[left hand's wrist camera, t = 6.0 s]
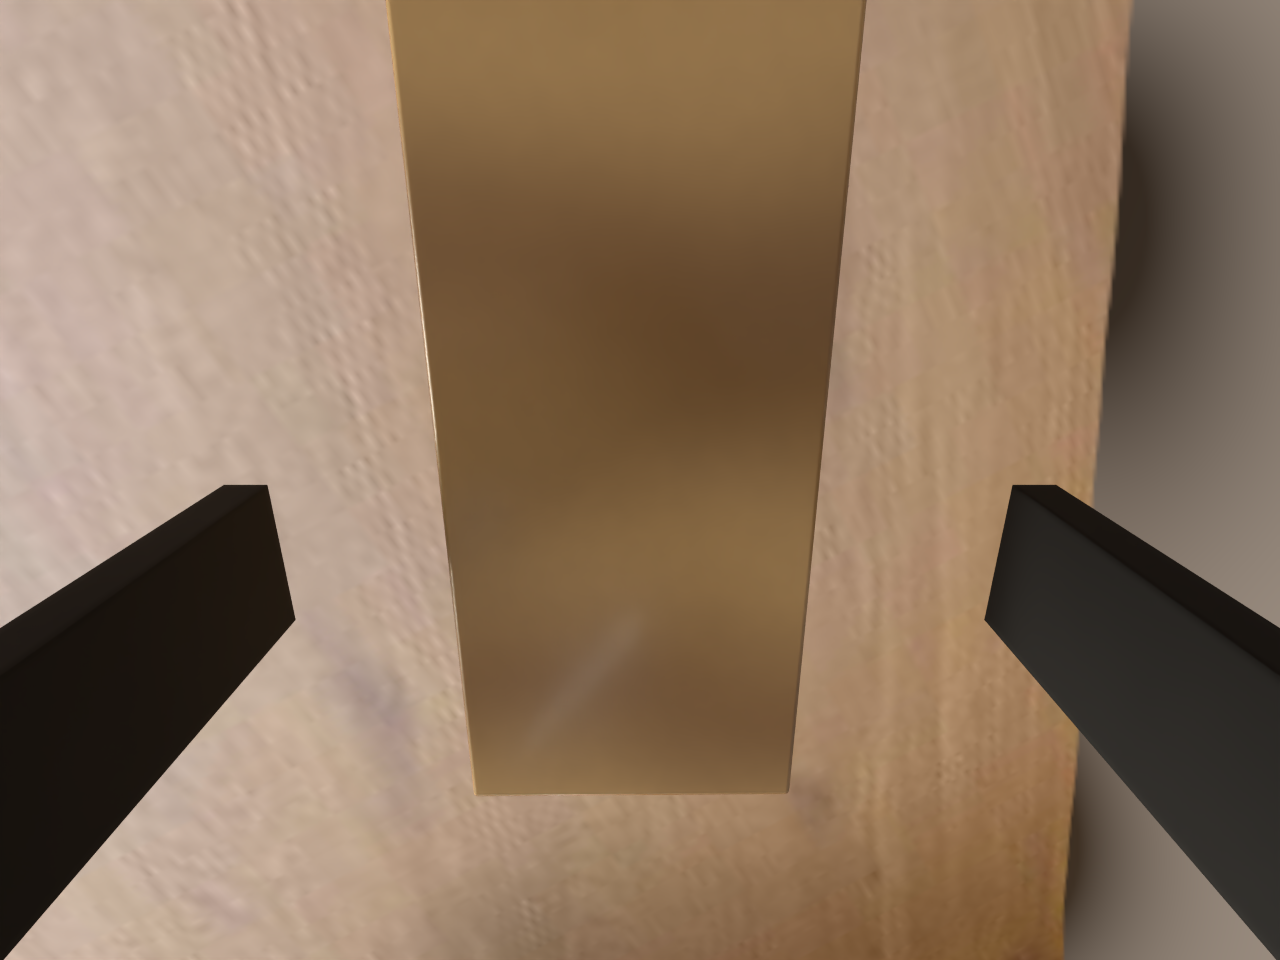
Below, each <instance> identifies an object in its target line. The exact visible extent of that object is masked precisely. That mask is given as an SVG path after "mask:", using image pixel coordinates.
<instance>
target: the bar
mask: <svg viewBox="0 0 1280 960" xmlns="http://www.w3.org/2000/svg"><path fill="white" fill-rule="evenodd" d="M386 9H387V18H388V27H389V35H390V44H391V53H392V62H393V71H394V80H395V89H396V98H397V107H398V116H399V125H400V134H401V143H402V152H403V161H404V170H405V179H406V188H407V197H408V206H409V215H410V224H411V233H412V242H413V251H414V260H415V268H416V277H417V286H418V295H419V304H420V313H421V322H422V331H423V340H424V349H425V358H426V367H427V376H428V385H429V394H430V403H431V412H432V421H433V430H434V439H435V448H436V457H437V466H438V475H439V484H440V493H441V501H442V510H443V519H444V528H445V537H446V546H447V555H448V564H449V573H450V582H451V591H452V600H453V609H454V618H455V627H456V636H457V645H458V654H459V663H460V672H461V681H462V690H463V699H464V708H465V717H466V726H467V735H468V743H469V752H470V761H471V770H472V779H473V788H474V794H475V795H476V796H563V795H696V794H786V793H788V791H789V785H790V775H791V765H792V755H793V745H794V734H795V724H796V714H797V704H798V694H799V683H800V673H801V663H802V653H803V643H804V632H805V622H806V612H807V602H808V591H809V581H810V571H811V561H812V551H813V540H814V530H815V520H816V510H817V500H818V489H819V479H820V469H821V459H822V449H823V438H824V428H825V418H826V408H827V397H828V387H829V377H830V367H831V357H832V346H833V336H834V326H835V316H836V306H837V295H838V285H839V275H840V265H841V255H842V244H843V234H844V224H845V214H846V203H847V193H848V183H849V173H850V163H851V152H852V142H853V132H854V122H855V112H856V101H857V91H858V81H859V71H860V61H861V50H862V40H863V30H864V20H865V9H866V0H386Z"/></svg>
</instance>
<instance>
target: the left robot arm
mask: <svg viewBox="0 0 1280 960" xmlns="http://www.w3.org/2000/svg"><path fill="white" fill-rule="evenodd" d="M294 621H295V615H294V610H293V605H292V601H291V596H290V591H289V586H288V581H287V577H286V572H285V567H284V562H283V557H282V553H281V548H280V543H279V538H278V533H277V529H276V524H275V519H274V514H273V510H272V505H271V500H270V495H269V490H268V486H267V485H223V486H222V487H220V488H218V489H217V490H215V491H214V492H212V493H211V494H209V495H207V496H206V497H204V498H203V499H201V500H200V501H198V502H197V503H195V504H193V505H192V506H190V507H189V508H187V509H186V510H184V511H182V512H181V513H179V514H178V515H176V516H175V517H173V518H172V519H170V520H168V521H167V522H165V523H164V524H162V525H161V526H159V527H157V528H156V529H154V530H153V531H151V532H150V533H148V534H147V535H145V536H143V537H142V538H140V539H139V540H137V541H136V542H134V543H132V544H131V545H129V546H128V547H126V548H125V549H123V550H122V551H120V552H118V553H117V554H115V555H114V556H112V557H111V558H109V559H107V560H106V561H104V562H103V563H101V564H100V565H98V566H97V567H95V568H93V569H92V570H90V571H89V572H87V573H86V574H84V575H82V576H81V577H79V578H78V579H76V580H75V581H73V582H72V583H70V584H68V585H67V586H65V587H64V588H62V589H61V590H59V591H57V592H56V593H54V594H53V595H51V596H50V597H48V598H46V599H45V600H43V601H42V602H40V603H39V604H37V605H36V606H34V607H32V608H31V609H29V610H28V611H26V612H25V613H23V614H21V615H20V616H18V617H17V618H15V619H14V620H12V621H11V622H9V623H7V624H6V625H4V626H3V627H1V628H0V960H4V959H5V957H6V956H7V955H8V954H9V953H10V952H11V950H12V949H13V948H14V947H15V946H16V945H17V944H18V942H19V941H20V940H21V939H22V938H23V937H24V935H25V934H26V933H27V932H28V931H29V930H30V928H31V927H32V926H33V925H34V924H35V923H36V921H37V920H38V919H39V918H40V917H41V916H42V914H43V913H44V912H45V911H46V910H47V909H48V907H49V906H50V905H51V904H52V903H53V902H54V900H55V899H56V898H57V897H58V896H59V895H60V893H61V892H62V891H63V890H64V889H65V888H66V886H67V885H68V884H69V883H70V882H71V881H72V879H73V878H74V877H75V876H76V875H77V874H78V872H79V871H80V870H81V869H82V868H83V867H84V865H85V864H86V863H87V862H88V861H89V860H90V859H91V857H92V856H93V855H94V854H95V853H96V852H97V850H98V849H99V848H100V847H101V846H102V845H103V843H104V842H105V841H106V840H107V839H108V838H109V836H110V835H111V834H112V833H113V832H114V831H115V829H116V828H117V827H118V826H119V825H120V824H121V822H122V821H123V820H124V819H125V818H126V817H127V815H128V814H129V813H130V812H131V811H132V810H133V808H134V807H135V806H136V805H137V804H138V803H139V801H140V800H141V799H142V798H143V797H144V796H145V794H146V793H147V792H148V791H149V790H150V789H151V787H152V786H153V785H154V784H155V783H156V782H157V781H158V779H159V778H160V777H161V776H162V775H163V774H164V772H165V771H166V770H167V769H168V768H169V767H170V765H171V764H172V763H173V762H174V761H175V760H176V758H177V757H178V756H179V755H180V754H181V753H182V751H183V750H184V749H185V748H186V747H187V746H188V744H189V743H190V742H191V741H192V740H193V739H194V737H195V736H196V735H197V734H198V733H199V732H200V730H201V729H202V728H203V727H204V726H205V725H206V723H207V722H208V721H209V720H210V719H211V718H212V716H213V715H214V714H215V713H216V712H217V711H218V709H219V708H220V707H221V706H222V705H223V704H224V702H225V701H226V700H227V699H228V698H229V697H230V696H231V694H232V693H233V692H234V691H235V690H236V689H237V687H238V686H239V685H240V684H241V683H242V682H243V680H244V679H245V678H246V677H247V676H248V675H249V673H250V672H251V671H252V670H253V669H254V668H255V666H256V665H257V664H258V663H259V662H260V661H261V659H262V658H263V657H264V656H265V655H266V654H267V652H268V651H269V650H270V649H271V648H272V647H273V645H274V644H275V643H276V642H277V641H278V640H279V638H280V637H281V636H282V635H283V634H284V633H285V631H286V630H287V629H288V628H289V627H290V626H291V624H292V623H293V622H294ZM985 621H986V622H987V623H988V624H989V626H990V627H991V628H992V629H993V630H994V631H995V633H996V634H997V635H998V636H999V637H1000V638H1001V640H1002V641H1003V642H1004V643H1005V644H1006V645H1007V647H1008V648H1009V649H1010V650H1011V651H1012V652H1013V654H1014V655H1015V656H1016V657H1017V658H1018V659H1019V661H1020V662H1021V663H1022V664H1023V665H1024V666H1025V668H1026V669H1027V670H1028V671H1029V672H1030V673H1031V675H1032V676H1033V677H1034V678H1035V679H1036V680H1037V682H1038V683H1039V684H1040V685H1041V686H1042V687H1043V689H1044V690H1045V691H1046V692H1047V693H1048V694H1049V696H1050V697H1051V698H1052V699H1053V700H1054V701H1055V702H1056V704H1057V705H1058V706H1059V707H1060V708H1061V709H1062V711H1063V712H1064V713H1065V714H1066V715H1067V716H1068V718H1069V719H1070V720H1071V721H1072V722H1073V723H1074V725H1075V726H1076V727H1077V728H1078V729H1079V730H1080V732H1081V733H1082V734H1083V735H1084V736H1085V737H1086V739H1087V740H1088V741H1089V742H1090V743H1091V744H1092V746H1093V747H1094V748H1095V749H1096V750H1097V751H1098V753H1099V754H1100V755H1101V756H1102V757H1103V758H1104V760H1105V761H1106V762H1107V763H1108V764H1109V765H1110V766H1111V768H1112V769H1113V770H1114V771H1115V772H1116V774H1117V775H1118V776H1119V777H1120V778H1121V779H1122V781H1123V782H1124V783H1125V784H1126V785H1127V786H1128V787H1129V789H1130V790H1131V791H1132V792H1133V793H1134V794H1135V796H1136V797H1137V798H1138V799H1139V800H1140V801H1141V803H1142V804H1143V805H1144V806H1145V807H1146V808H1147V810H1148V811H1149V812H1150V813H1151V814H1152V815H1153V817H1154V818H1155V819H1156V820H1157V821H1158V822H1159V824H1160V825H1161V826H1162V827H1163V828H1164V829H1165V831H1166V832H1167V833H1168V834H1169V835H1170V836H1171V838H1172V839H1173V840H1174V841H1175V842H1176V843H1177V844H1178V846H1179V847H1180V848H1181V849H1182V850H1183V852H1184V853H1185V854H1186V855H1187V856H1188V857H1189V858H1190V860H1191V861H1192V862H1193V863H1194V864H1195V865H1196V867H1197V868H1198V869H1199V870H1200V871H1201V872H1202V874H1203V875H1204V876H1205V877H1206V878H1207V879H1208V881H1209V882H1210V883H1211V884H1212V885H1213V886H1214V888H1215V889H1216V890H1217V891H1218V892H1219V893H1220V895H1221V896H1222V897H1223V898H1224V899H1225V900H1226V902H1227V903H1228V904H1229V905H1230V906H1231V907H1232V909H1233V910H1234V911H1235V912H1236V913H1237V914H1238V915H1239V917H1240V918H1241V919H1242V920H1243V921H1244V923H1245V924H1246V925H1247V926H1248V927H1249V928H1250V930H1251V931H1252V932H1253V933H1254V934H1255V935H1256V937H1257V938H1258V939H1259V940H1260V941H1261V942H1262V943H1263V945H1264V946H1265V947H1266V948H1267V949H1268V950H1269V952H1270V953H1271V954H1272V955H1273V956H1274V957H1275V959H1276V960H1280V628H1279V627H1277V626H1276V625H1274V624H1272V623H1271V622H1269V621H1268V620H1266V619H1265V618H1263V617H1262V616H1260V615H1258V614H1257V613H1255V612H1254V611H1252V610H1251V609H1249V608H1248V607H1246V606H1244V605H1243V604H1241V603H1240V602H1238V601H1237V600H1235V599H1233V598H1232V597H1230V596H1229V595H1227V594H1226V593H1224V592H1222V591H1221V590H1219V589H1218V588H1216V587H1215V586H1213V585H1212V584H1210V583H1208V582H1207V581H1205V580H1204V579H1202V578H1201V577H1199V576H1198V575H1196V574H1194V573H1193V572H1191V571H1190V570H1188V569H1187V568H1185V567H1183V566H1182V565H1180V564H1179V563H1177V562H1176V561H1174V560H1173V559H1171V558H1169V557H1168V556H1166V555H1165V554H1163V553H1162V552H1160V551H1158V550H1157V549H1155V548H1154V547H1152V546H1151V545H1149V544H1148V543H1146V542H1144V541H1143V540H1141V539H1140V538H1138V537H1137V536H1135V535H1133V534H1132V533H1130V532H1129V531H1127V530H1126V529H1124V528H1123V527H1121V526H1119V525H1118V524H1116V523H1115V522H1113V521H1112V520H1110V519H1108V518H1107V517H1105V516H1104V515H1102V514H1101V513H1099V512H1098V511H1096V510H1094V509H1093V508H1091V507H1090V506H1088V505H1087V504H1085V503H1083V502H1082V501H1080V500H1079V499H1077V498H1076V497H1074V496H1073V495H1071V494H1069V493H1068V492H1066V491H1065V490H1063V489H1062V488H1060V487H1058V486H1057V485H1013V486H1012V490H1011V495H1010V500H1009V505H1008V510H1007V514H1006V519H1005V524H1004V529H1003V533H1002V538H1001V543H1000V548H999V553H998V557H997V562H996V567H995V572H994V577H993V581H992V586H991V591H990V596H989V601H988V605H987V610H986V615H985Z"/></svg>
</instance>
